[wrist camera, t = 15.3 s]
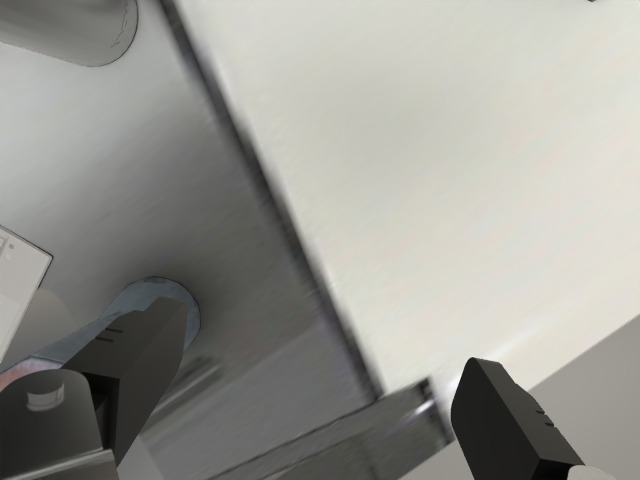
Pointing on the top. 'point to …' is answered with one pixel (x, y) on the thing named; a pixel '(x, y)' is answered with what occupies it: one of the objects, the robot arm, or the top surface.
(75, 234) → the top surface
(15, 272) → the laptop
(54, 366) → the moka pot
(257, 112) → the top surface
